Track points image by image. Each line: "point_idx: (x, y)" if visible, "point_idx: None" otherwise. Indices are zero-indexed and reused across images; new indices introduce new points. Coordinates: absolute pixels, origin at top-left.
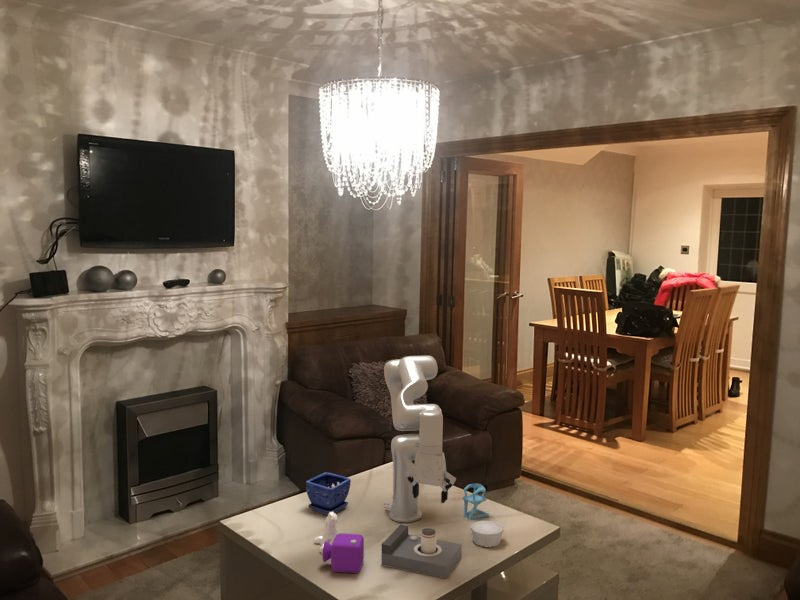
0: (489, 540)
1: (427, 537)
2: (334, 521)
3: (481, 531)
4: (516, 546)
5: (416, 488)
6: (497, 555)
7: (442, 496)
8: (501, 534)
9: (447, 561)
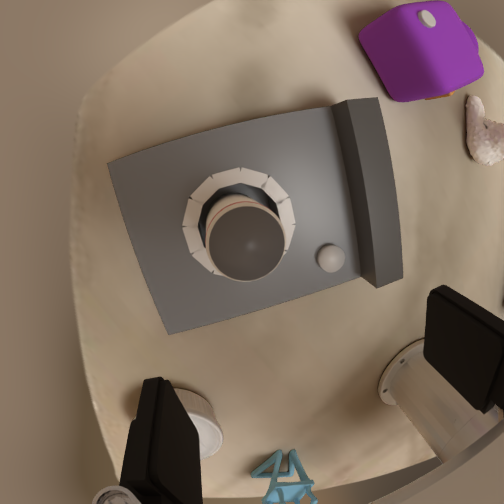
0: None
1: (227, 206)
2: None
3: None
4: (111, 422)
5: (483, 352)
6: (106, 371)
7: (142, 430)
8: None
9: (124, 197)
